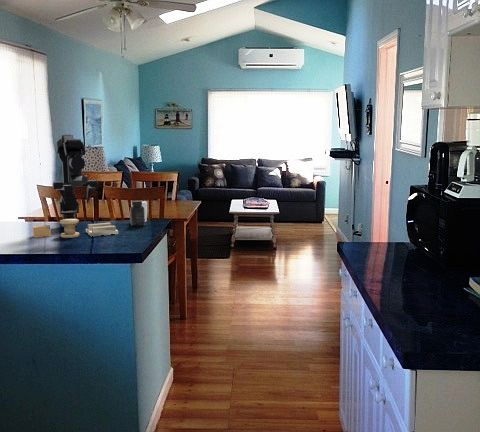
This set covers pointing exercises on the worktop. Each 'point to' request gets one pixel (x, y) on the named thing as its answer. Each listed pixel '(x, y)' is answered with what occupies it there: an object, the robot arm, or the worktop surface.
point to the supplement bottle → (137, 214)
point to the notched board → (101, 229)
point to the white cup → (144, 204)
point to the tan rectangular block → (41, 231)
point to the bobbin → (69, 228)
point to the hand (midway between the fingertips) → (76, 204)
